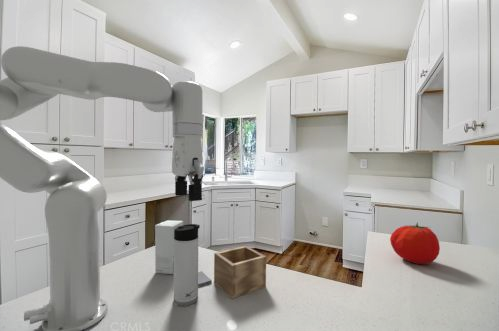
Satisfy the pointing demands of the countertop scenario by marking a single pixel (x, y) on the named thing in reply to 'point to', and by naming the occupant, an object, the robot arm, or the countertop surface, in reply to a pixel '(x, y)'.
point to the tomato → (415, 244)
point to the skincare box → (165, 246)
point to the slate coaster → (203, 279)
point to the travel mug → (186, 264)
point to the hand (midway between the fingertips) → (187, 197)
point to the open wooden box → (239, 271)
